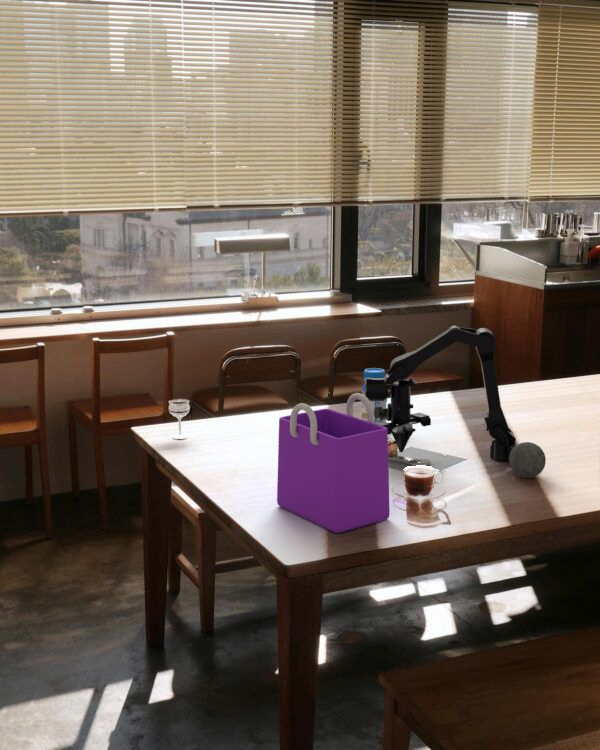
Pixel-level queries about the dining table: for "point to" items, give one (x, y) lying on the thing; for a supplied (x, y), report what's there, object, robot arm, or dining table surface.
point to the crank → (394, 457)
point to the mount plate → (436, 459)
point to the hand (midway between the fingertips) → (400, 451)
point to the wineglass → (179, 409)
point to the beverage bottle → (367, 374)
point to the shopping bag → (333, 467)
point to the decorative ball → (527, 460)
